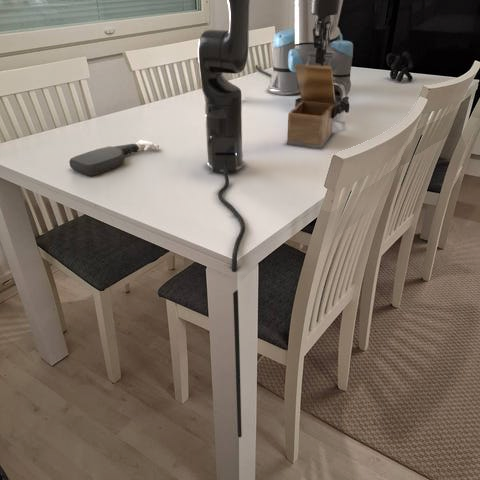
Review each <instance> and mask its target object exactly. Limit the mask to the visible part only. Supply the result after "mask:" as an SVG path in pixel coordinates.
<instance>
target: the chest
mask: <svg viewBox="0 0 480 480" xmlns="http://www.w3.org/2000/svg"><path fill="white" fill-rule="evenodd" d="M334 107H335V104H330V103H319V102H308V101H302V102H301V103H300V104H299V105H297V106H296V107H295V106H294V108H293V109H291V110H290V111H289V112H288V115H287V137H286V145H288V146H289V145H290V146H295V147H296V146H297V147H304V148H313V149H322V147H323V146H324V145H325V144H326V142H327V141H328V140H329V138H330V137H331V136H332V134H333V128H334V127H333V125H334V119H333V118H331V116H332V109H333V108H334Z"/></svg>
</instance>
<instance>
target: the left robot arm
mask: <svg viewBox="0 0 480 480" xmlns="http://www.w3.org/2000/svg"><path fill="white" fill-rule="evenodd" d="M250 2H251V0H226V4H227V8H228V13H229V14H228V15H229V16H228V17H229V18H228V19H229V25H228V27H229V28H228V29H227V30H225V29H206V30H204V31H203V32H202V33H201V34H200V37H199V39H198V47H197V58H198V67H199V68H198V69H199V77H200V83H201V84H200V86H201V92H202V94H203V99H204V100H203V101H204V116H205V117H204V118H205V133H206V134H205V135H206V151H207V152H206V153H207V168H208V169H209V170H211V172H212V173H223V174H224V175H223V176H224V185H223V187H221V188H220V189H219V190H218V192H217V197H218V200H219V201H220V202H221V203H222V204H223V205H224V206H226V207H227V208H228V209H229V210H230V211H231V213H232V214H233V215H234V216H235V217H236V219H237V220H238V222H239V226H240V231H239V233H238V235H237V237H236V239H235V242H234V246H233V250H232V256H231V272H232V273H236V272H237V271H238V267H237V266H238V253H239V248H240V244H241V241H242V239H243V237H244V235H245V231H246V224H245V220H244V219H243V217H242V216H241V214H240V213H239V212H238V211H237V210H236V208H235V207H234V206H233V205H232V204H231V203H229V201H227V200H225V198H224V197H223V196H222V194H223V193H224V192H225V191H226V190H227V189H228V187H229V183H230V179H229V173H237V171H239V170H240V169H242V168H243V166H244V159H243V157H244V156H243V155H244V153H243V114H242V113H243V109H242V108H243V106H242V105H243V104H242V103H243V102H242V101H243V100H242V99H243V98H242V96H243V95H242V90H241V88H240V87H239V86H237V85H235V84H233V83H232V82H230V81H229V80H228V79H227V78H226V77H225V76H224V74H231V75H238V74H241V73H243V71H244V70H245V68H246V66H247V63H248V55H249V43H250V41H249V40H250V36H249V35H250ZM338 8H339V0H311V14H312V15H317V21H316V22H315V28H313V41H314V48H315V49H316V60H315V62H316V63H318V64H322V63H323V62H325V59H324V52H326V48H327V47H328V45H329V41H330V36H331V31H332V27H333V25H332V22H330V21H331V18H330V17H331V16H330V15H336V14H338ZM318 42H319V43H318ZM232 297H233V298H232V299H233V300H232V301H233V327H234V355H235V357H234V359H235V360H234V361H235V390H236V415H237V416H236V420H237V421H236V422H237V423H236V424H237V437H238V438H240V439H241V438H242V437H243V434H242V431H243V430H242V396H241V395H242V393H241V392H242V391H241V352H240V351H241V349H240V317H239V313H240V312H239V290H238V289H236V290H235V291H234V292H233V293H232Z"/></svg>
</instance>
